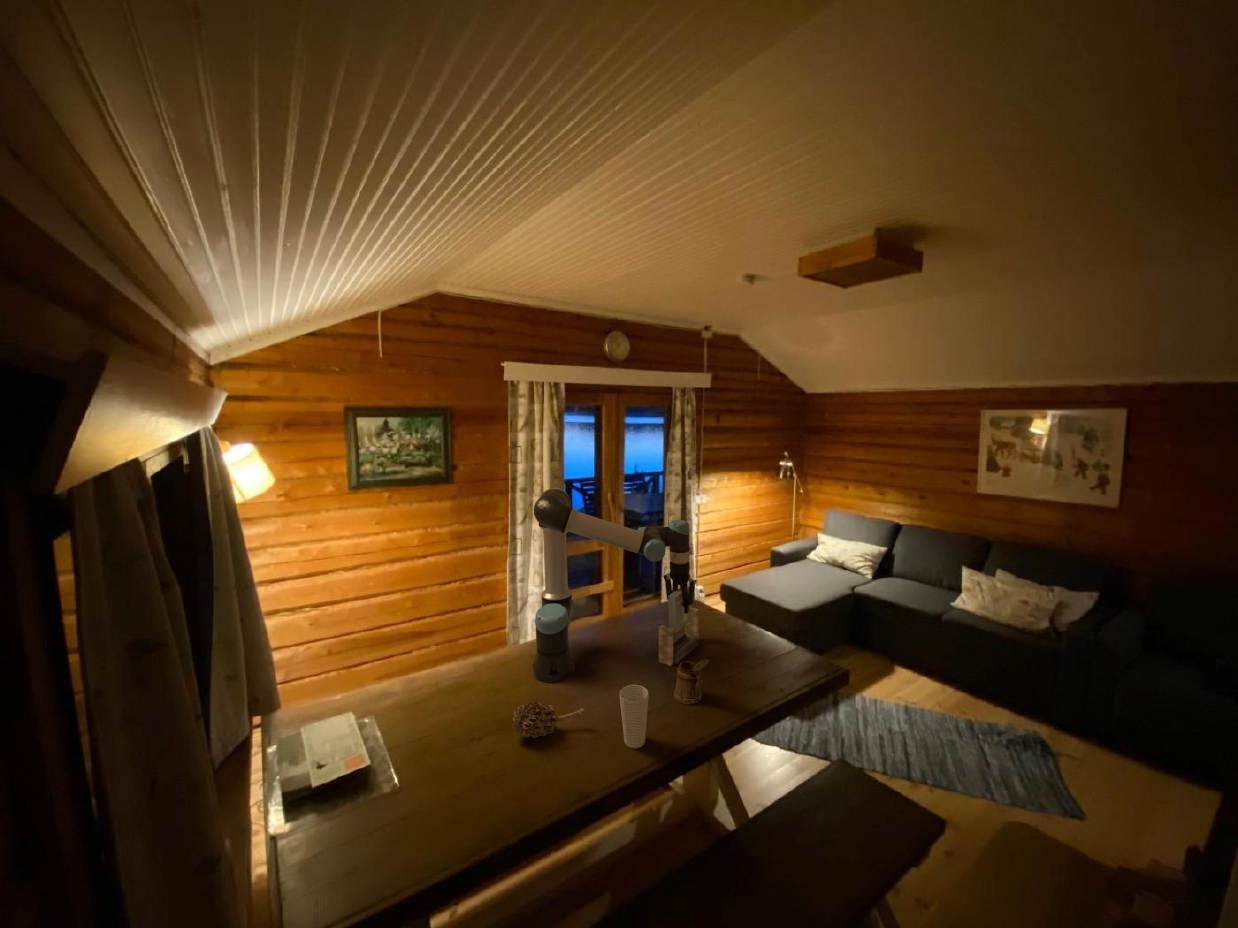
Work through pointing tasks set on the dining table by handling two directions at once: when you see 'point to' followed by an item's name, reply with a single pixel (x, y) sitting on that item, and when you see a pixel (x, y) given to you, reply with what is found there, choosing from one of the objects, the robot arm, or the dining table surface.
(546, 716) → the dried seed pod
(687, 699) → the wooden mug
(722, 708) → the dining table surface
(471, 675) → the dining table surface
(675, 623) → the door panel
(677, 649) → the u-shaped holder
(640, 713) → the cup
